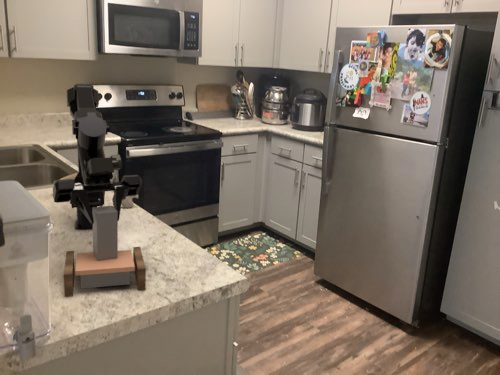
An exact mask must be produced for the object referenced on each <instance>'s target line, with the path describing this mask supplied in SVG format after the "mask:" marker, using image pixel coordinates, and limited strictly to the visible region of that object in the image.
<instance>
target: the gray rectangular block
mask: <svg viewBox="0 0 500 375" xmlns="http://www.w3.org/2000/svg"><path fill="white" fill-rule="evenodd" d="M92 214H93V219H94V223H93V228H92V252H93V254H94V256H95V258H96V260H97V261H102V260H109V259H116V258H118V251H119V249H118V248H119V247H118V244H119V243H118V240H119V239H118V235H119V234H118V231H119V230H118V222H119V221H118V212H117V210H116V209H115V208H114V207H113V205H107V206H104V205H103V206H102V207H101V206H97V207H92Z"/></svg>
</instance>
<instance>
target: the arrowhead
mask: <svg viewBox="0 0 500 375" xmlns="http://www.w3.org/2000/svg"><path fill="white" fill-rule="evenodd" d="M133 199H139V194H138V195H136V196H126V198H125V199H124V200H122V203H121V207H124V208H125V209H131V207H134V204H135V203H134V202H133Z"/></svg>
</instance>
